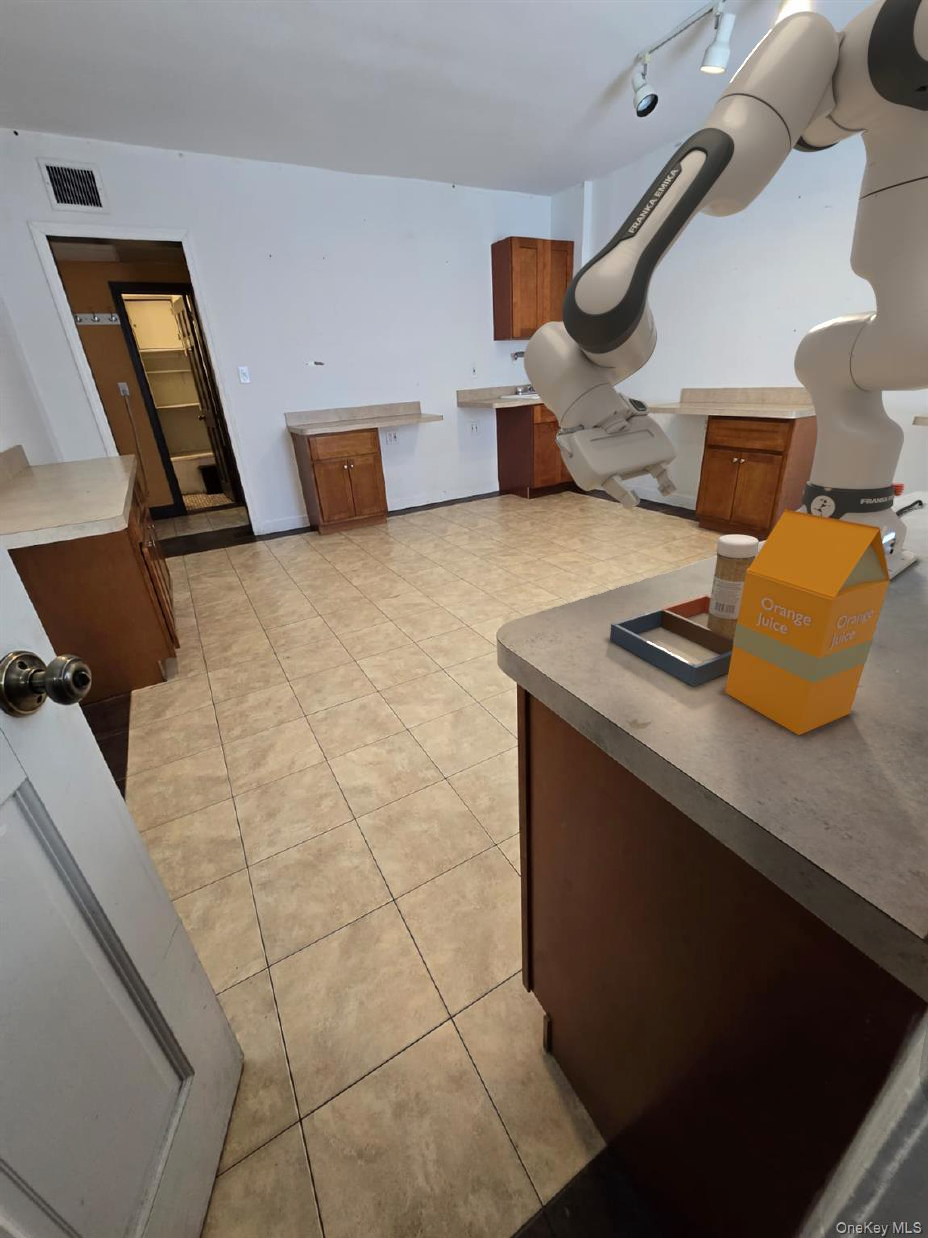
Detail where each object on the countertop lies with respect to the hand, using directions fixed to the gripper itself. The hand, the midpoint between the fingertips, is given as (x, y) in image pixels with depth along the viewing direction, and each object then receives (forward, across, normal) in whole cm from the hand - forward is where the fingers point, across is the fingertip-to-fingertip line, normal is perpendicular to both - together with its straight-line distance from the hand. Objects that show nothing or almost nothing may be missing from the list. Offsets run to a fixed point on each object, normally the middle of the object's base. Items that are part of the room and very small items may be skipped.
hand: (653, 499), depth 71 cm
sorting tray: (+20, -4, +4) cm, 21 cm away
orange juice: (+29, -11, -5) cm, 31 cm away
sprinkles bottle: (+21, 0, +4) cm, 21 cm away
